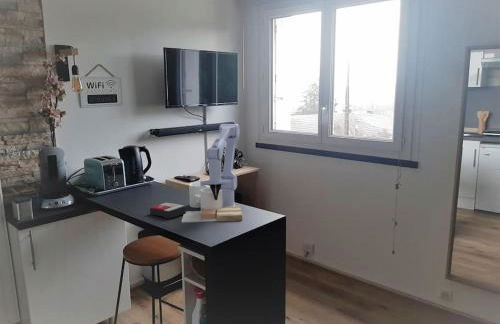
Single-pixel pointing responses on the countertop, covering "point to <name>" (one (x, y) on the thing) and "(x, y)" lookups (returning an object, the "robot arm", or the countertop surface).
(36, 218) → the countertop surface
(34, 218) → the countertop surface
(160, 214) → the red and grey box
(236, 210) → the board
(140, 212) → the countertop surface
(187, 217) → the mat
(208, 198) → the bracket
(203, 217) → the tile
